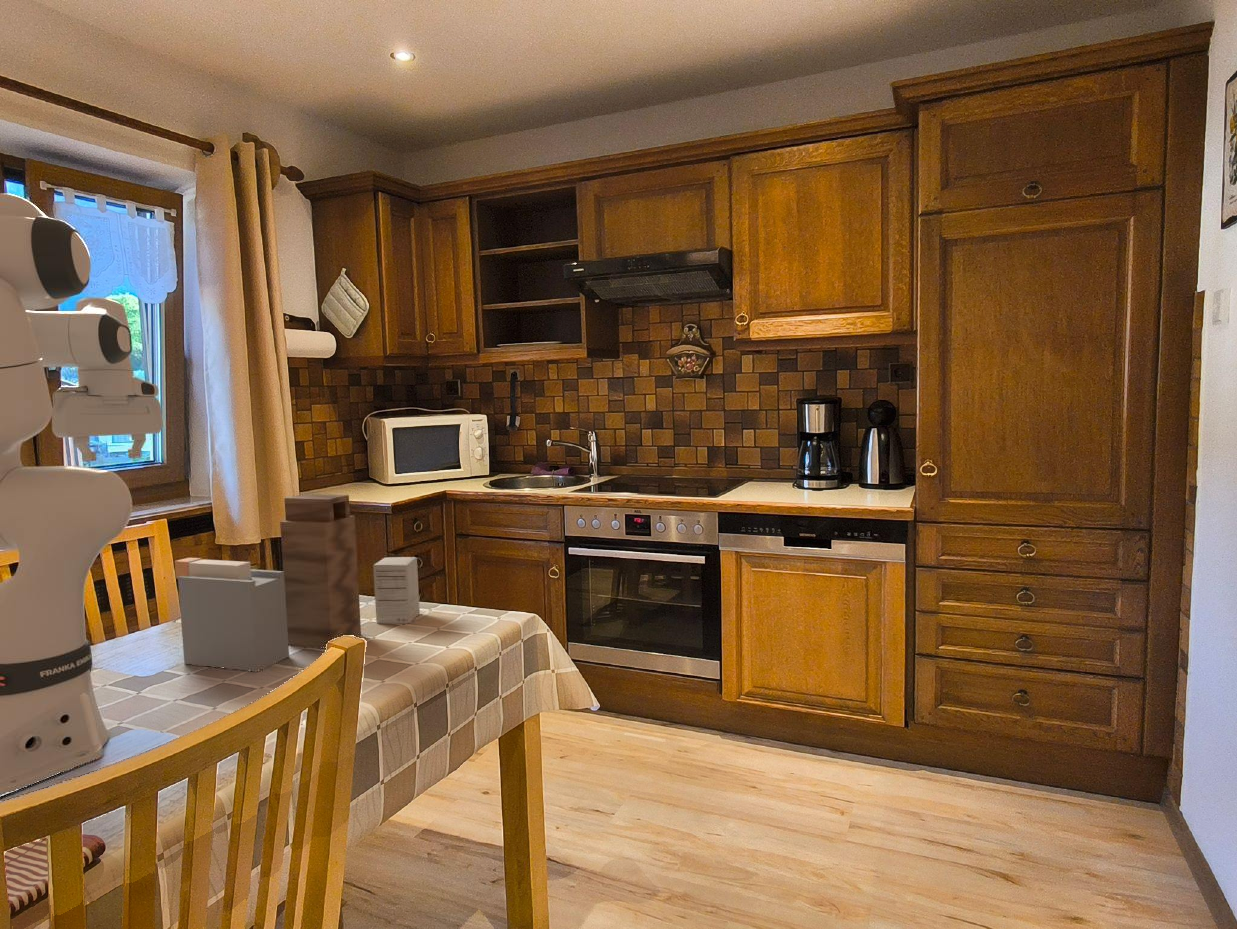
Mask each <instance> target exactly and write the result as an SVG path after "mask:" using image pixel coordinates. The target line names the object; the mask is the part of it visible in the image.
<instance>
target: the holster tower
mask: <svg viewBox="0 0 1237 929" xmlns="http://www.w3.org/2000/svg"><path fill="white" fill-rule="evenodd" d="M283 499H284V513H285V514H284V515H285V520H281V521H280V522H279V524H280V526H279V527H280V528H279V529H280V539H281V554H282V556H281V557H282V558H281V560H282V571H284V582H285V598H286V614H287V629H288V644H289V646H292V645H294V647H302V648H313V647H318V648H317V649H323V647H324V649H325V647H326V644H327V643H328V641H330V640H332V639H334V638H337V637H341V636H343V635H354V636H357V637H359V636H361V635H362V623H361V622H362V621H361V607H360V605H361V604H360V591H359V590H360V589H359V587H360V584H359V568H358V553H357V552H358V551H357V548H358V547H357V530H356V517H355V515H351V513H350V512H351V511H350V510H351V509H350V495H349V494H326V493H325V494H324V493H323V494H322V493H321V494H320V493H303V494H300V495H299V494H298V495H294V496H288V497H284V498H283ZM360 634H361V635H360ZM321 647H322V648H321ZM325 650H326V649H325Z"/></svg>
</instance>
